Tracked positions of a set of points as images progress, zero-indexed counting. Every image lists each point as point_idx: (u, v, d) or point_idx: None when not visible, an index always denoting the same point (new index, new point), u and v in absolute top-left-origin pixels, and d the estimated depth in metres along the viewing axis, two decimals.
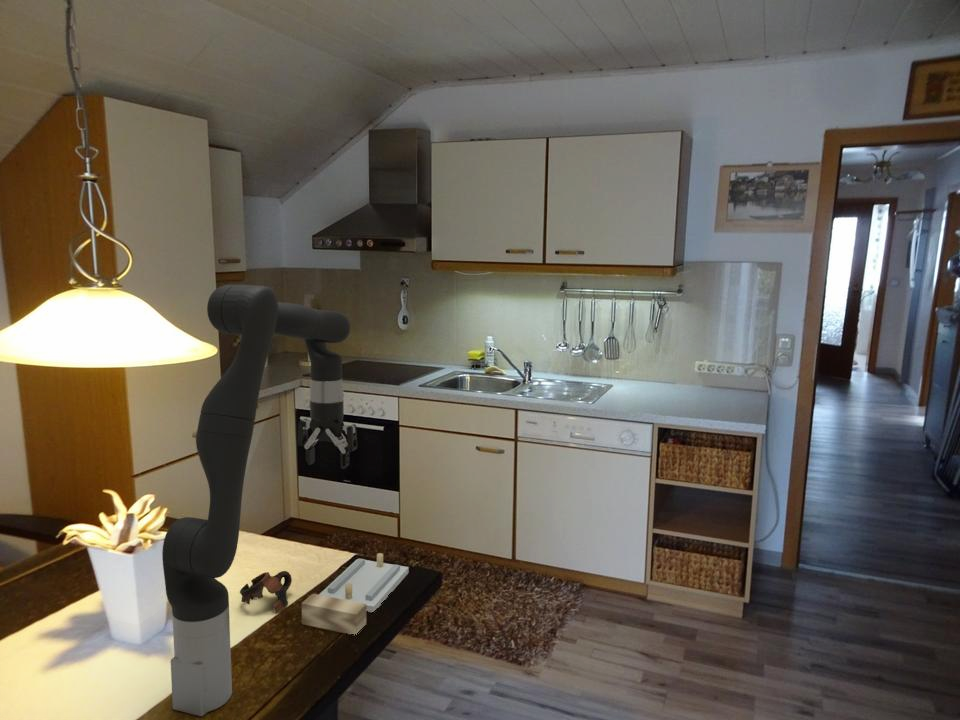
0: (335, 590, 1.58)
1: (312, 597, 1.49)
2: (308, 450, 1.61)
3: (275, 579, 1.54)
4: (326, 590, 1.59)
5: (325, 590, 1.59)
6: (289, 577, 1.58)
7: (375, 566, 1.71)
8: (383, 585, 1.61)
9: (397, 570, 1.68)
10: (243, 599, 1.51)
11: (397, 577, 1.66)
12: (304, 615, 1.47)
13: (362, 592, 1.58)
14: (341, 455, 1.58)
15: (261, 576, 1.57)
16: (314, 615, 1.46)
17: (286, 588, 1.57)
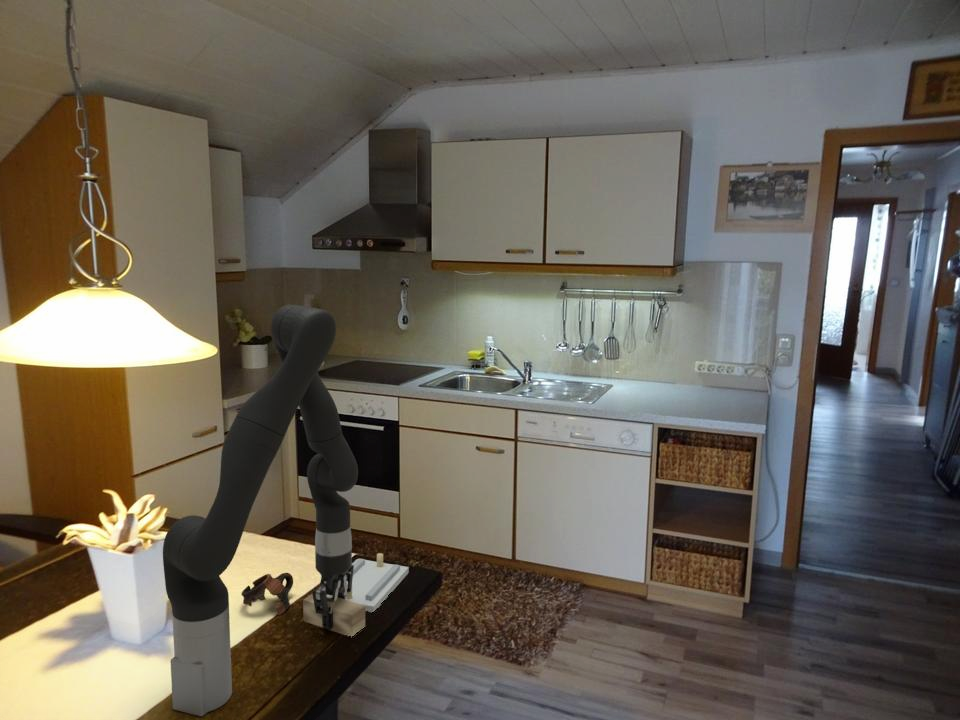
0: None
1: None
2: (332, 613, 1.44)
3: (277, 581, 1.54)
4: None
5: None
6: (291, 579, 1.58)
7: (375, 566, 1.71)
8: (383, 585, 1.61)
9: (397, 570, 1.68)
10: (245, 601, 1.50)
11: (397, 577, 1.66)
12: (305, 611, 1.48)
13: (362, 592, 1.58)
14: None
15: (263, 578, 1.56)
16: (314, 612, 1.47)
17: (288, 590, 1.57)
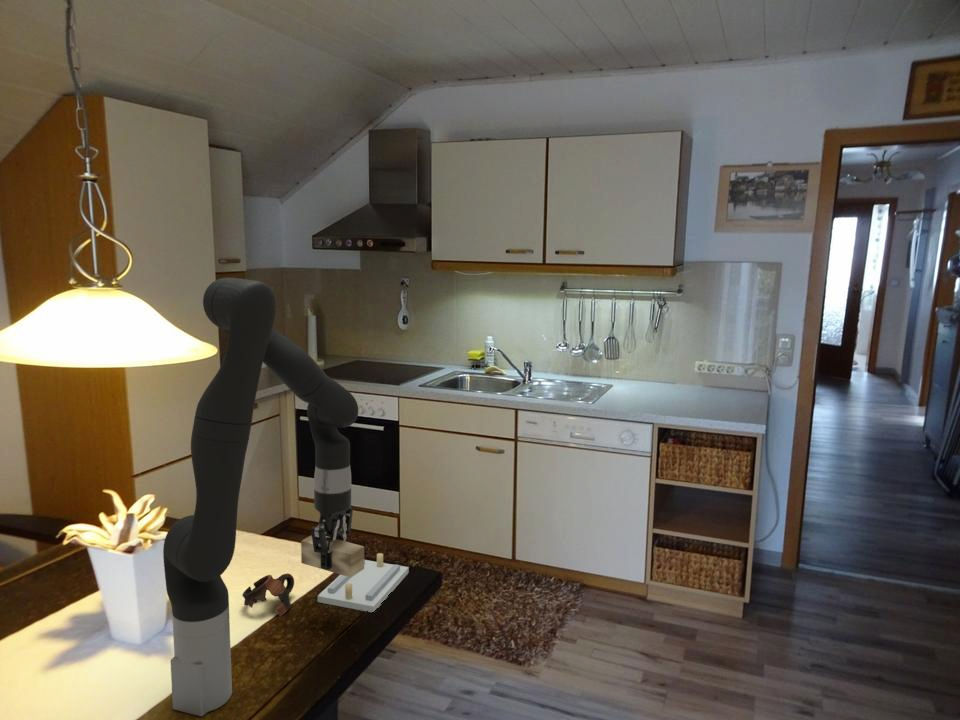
0: (335, 590, 1.58)
1: None
2: (330, 553, 1.42)
3: (278, 582, 1.53)
4: (326, 590, 1.59)
5: (325, 590, 1.59)
6: (291, 580, 1.57)
7: (375, 566, 1.71)
8: (383, 585, 1.61)
9: (397, 570, 1.68)
10: (246, 602, 1.50)
11: (397, 577, 1.66)
12: (303, 553, 1.46)
13: (362, 592, 1.58)
14: None
15: (264, 579, 1.55)
16: (312, 553, 1.45)
17: (289, 591, 1.56)
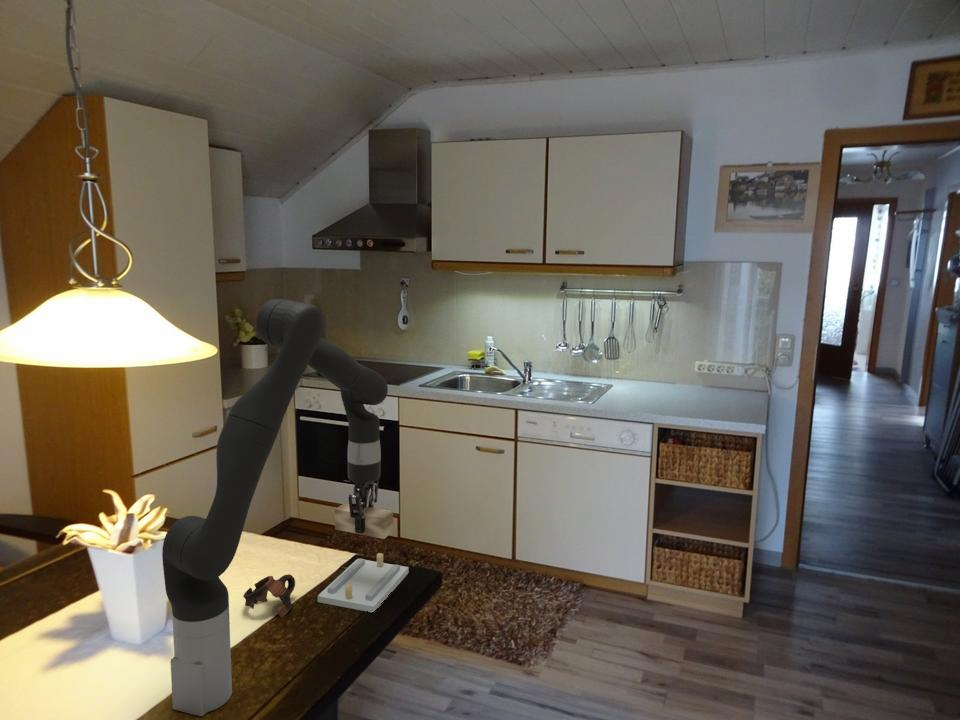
0: (335, 590, 1.58)
1: (345, 505, 1.64)
2: (364, 518, 1.58)
3: (279, 583, 1.53)
4: (326, 590, 1.59)
5: (325, 590, 1.59)
6: (293, 580, 1.57)
7: (375, 566, 1.71)
8: (383, 585, 1.61)
9: (397, 570, 1.68)
10: (247, 603, 1.50)
11: (397, 577, 1.66)
12: (337, 520, 1.61)
13: (362, 592, 1.58)
14: None
15: (265, 580, 1.55)
16: (346, 520, 1.60)
17: (290, 592, 1.56)
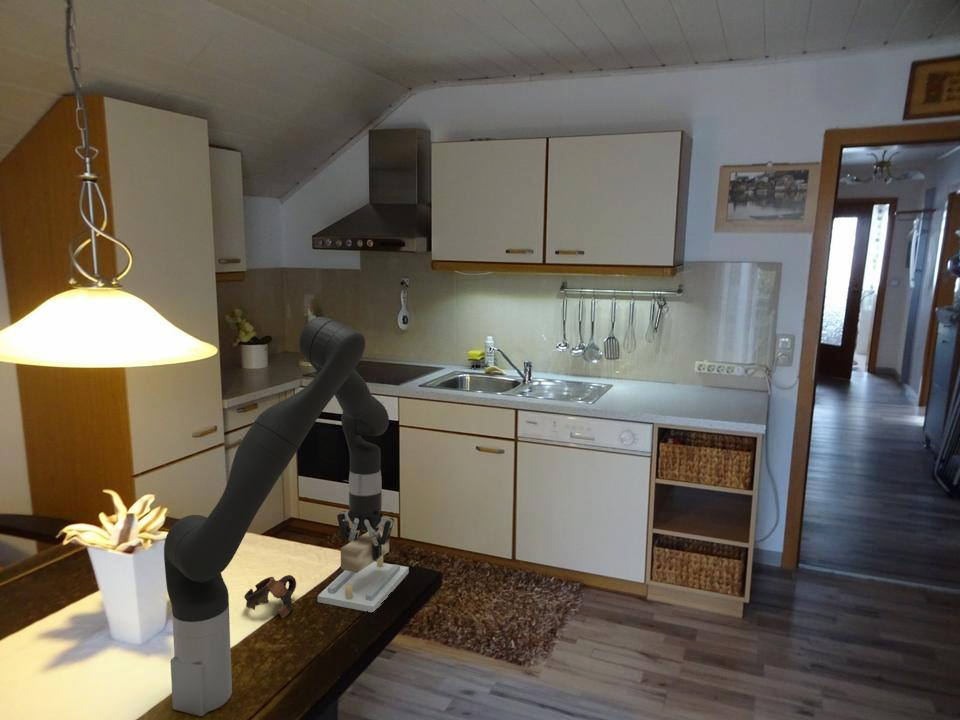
0: (335, 590, 1.58)
1: (348, 548, 1.58)
2: None
3: (280, 584, 1.52)
4: (326, 590, 1.59)
5: (325, 590, 1.59)
6: (293, 581, 1.56)
7: (375, 566, 1.71)
8: (383, 585, 1.61)
9: (397, 570, 1.68)
10: (248, 604, 1.49)
11: (397, 577, 1.66)
12: (358, 562, 1.56)
13: (362, 592, 1.58)
14: None
15: (265, 581, 1.55)
16: (364, 556, 1.58)
17: (291, 592, 1.55)
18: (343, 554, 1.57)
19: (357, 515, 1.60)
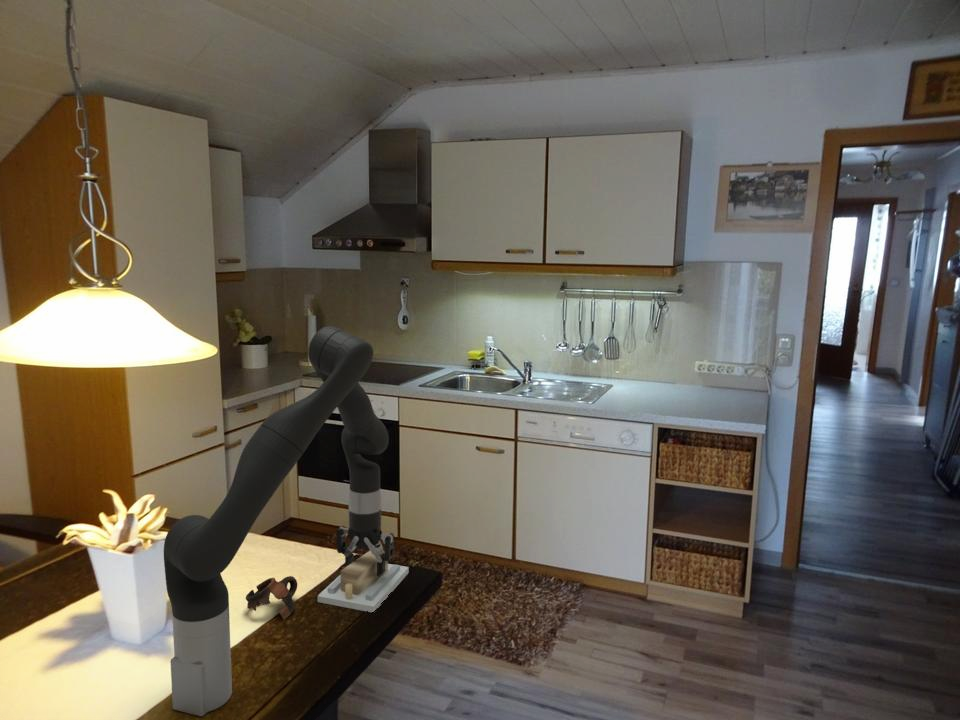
0: (335, 590, 1.58)
1: (348, 570, 1.58)
2: None
3: (281, 585, 1.52)
4: (326, 590, 1.59)
5: (325, 590, 1.59)
6: (295, 582, 1.56)
7: None
8: (383, 585, 1.61)
9: (397, 570, 1.68)
10: (249, 605, 1.49)
11: (397, 577, 1.66)
12: (358, 584, 1.57)
13: (362, 592, 1.58)
14: None
15: (266, 582, 1.54)
16: (364, 578, 1.59)
17: (292, 593, 1.55)
18: (343, 577, 1.58)
19: (357, 533, 1.61)
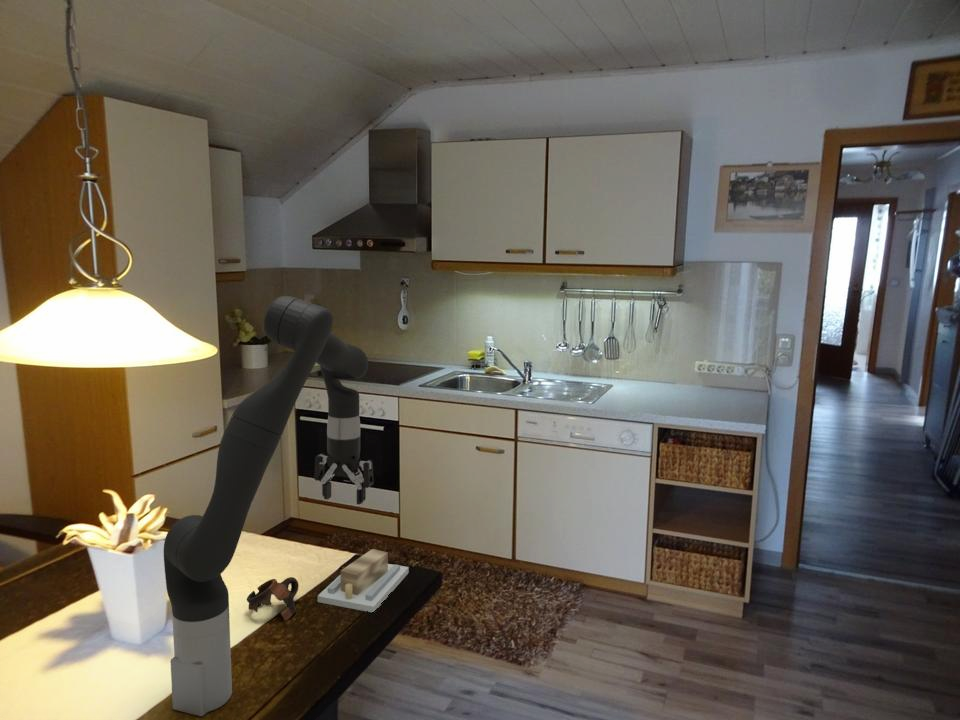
0: (335, 590, 1.58)
1: (348, 570, 1.58)
2: None
3: (283, 586, 1.52)
4: (326, 590, 1.59)
5: (325, 590, 1.59)
6: (296, 583, 1.56)
7: None
8: (383, 585, 1.61)
9: (397, 570, 1.68)
10: (250, 607, 1.48)
11: (397, 577, 1.66)
12: (358, 584, 1.57)
13: (362, 592, 1.58)
14: None
15: (268, 583, 1.54)
16: (364, 578, 1.59)
17: (293, 595, 1.55)
18: (343, 577, 1.58)
19: (335, 460, 1.59)
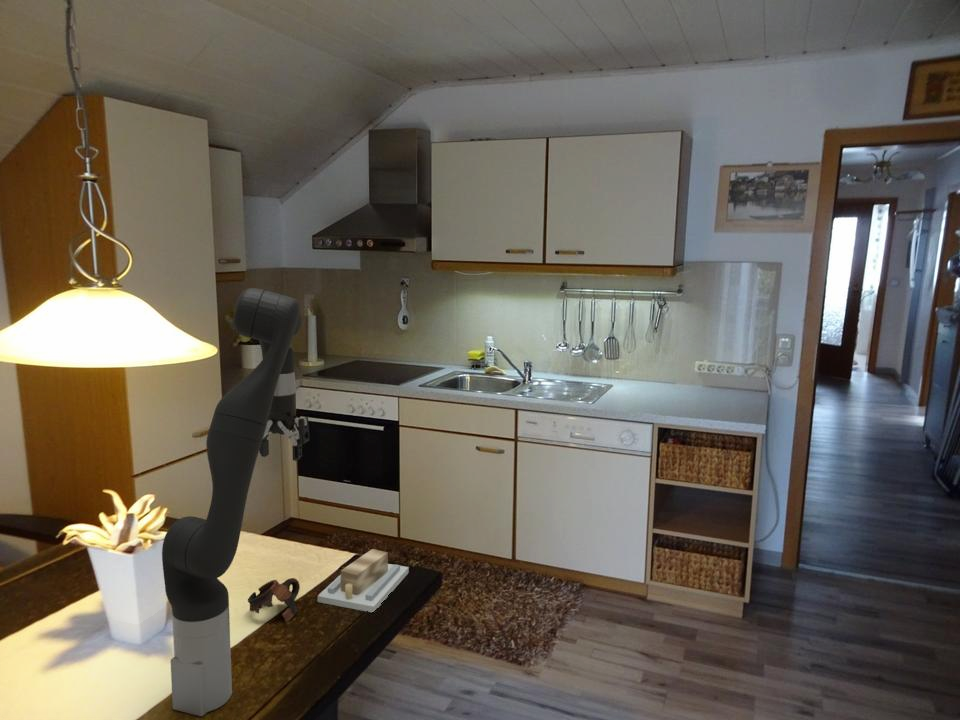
0: (335, 590, 1.58)
1: (348, 570, 1.58)
2: None
3: (284, 587, 1.51)
4: (326, 590, 1.59)
5: (325, 590, 1.59)
6: (297, 584, 1.55)
7: None
8: (383, 585, 1.61)
9: (397, 570, 1.68)
10: (252, 608, 1.48)
11: (397, 577, 1.66)
12: (358, 584, 1.57)
13: (362, 592, 1.58)
14: None
15: (269, 584, 1.53)
16: (364, 578, 1.59)
17: (294, 595, 1.54)
18: (343, 577, 1.58)
19: (271, 418, 1.61)
